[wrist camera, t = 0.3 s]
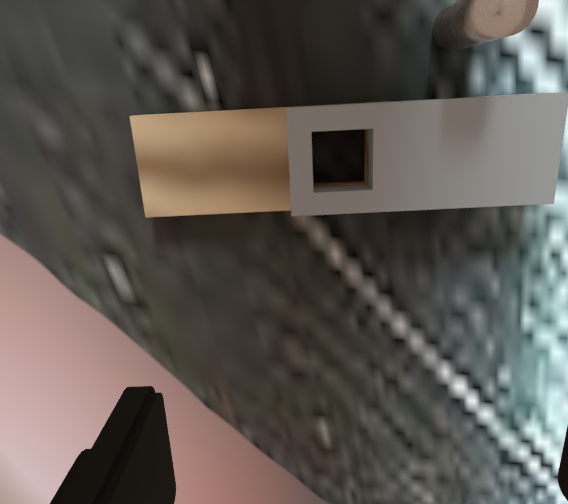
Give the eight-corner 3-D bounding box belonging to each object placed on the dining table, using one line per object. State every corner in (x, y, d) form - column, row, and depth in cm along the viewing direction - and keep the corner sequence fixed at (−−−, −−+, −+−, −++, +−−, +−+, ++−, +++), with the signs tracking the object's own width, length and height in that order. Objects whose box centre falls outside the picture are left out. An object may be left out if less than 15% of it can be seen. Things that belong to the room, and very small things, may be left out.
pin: (434, 5, 34) (484, -26, 25) (477, 3, 34) (542, -30, 25) (432, 52, 35) (479, 37, 26) (474, 50, 35) (534, 34, 26)
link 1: (138, 115, 36) (129, 116, 34) (386, 101, 36) (392, 101, 34) (152, 211, 39) (145, 217, 37) (384, 200, 38) (389, 205, 36)
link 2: (286, 106, 36) (286, 108, 32) (539, 93, 36) (569, 92, 32) (291, 204, 39) (291, 216, 35) (527, 193, 38) (553, 203, 34)
